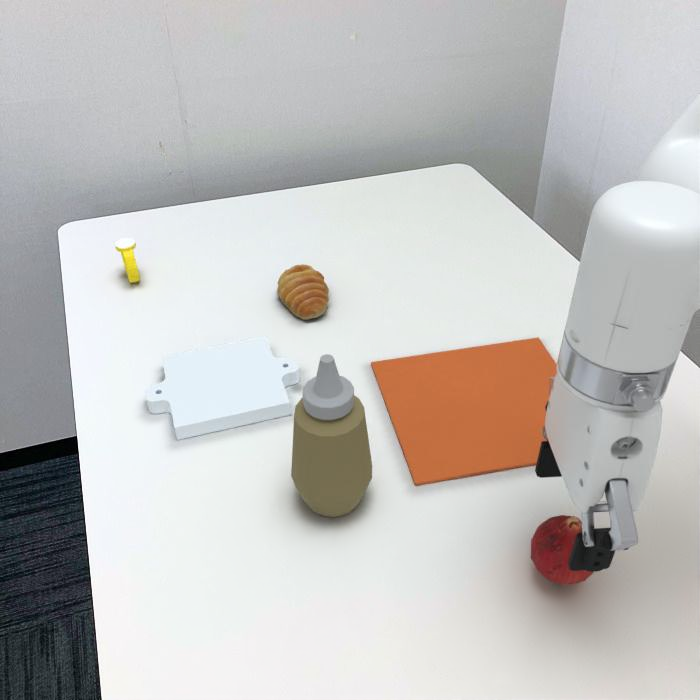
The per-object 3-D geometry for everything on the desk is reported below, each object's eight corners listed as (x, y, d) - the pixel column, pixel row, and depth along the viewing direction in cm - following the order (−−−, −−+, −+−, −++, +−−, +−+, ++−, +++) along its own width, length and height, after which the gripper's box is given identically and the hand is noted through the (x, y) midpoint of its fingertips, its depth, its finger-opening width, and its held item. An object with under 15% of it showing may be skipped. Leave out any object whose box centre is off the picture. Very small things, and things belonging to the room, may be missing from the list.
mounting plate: (286, 343, 95) (285, 332, 93) (312, 409, 85) (311, 397, 84) (143, 372, 91) (140, 360, 89) (154, 445, 81) (150, 432, 80)
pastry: (339, 317, 99) (338, 293, 96) (290, 327, 97) (288, 304, 95) (319, 280, 106) (318, 258, 103) (274, 290, 104) (271, 267, 102)
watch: (120, 269, 109) (111, 234, 105) (139, 265, 110) (130, 230, 106) (127, 290, 105) (118, 254, 101) (146, 286, 106) (138, 250, 102)
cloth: (538, 339, 94) (538, 337, 94) (612, 451, 79) (613, 448, 79) (371, 364, 91) (370, 361, 91) (415, 485, 76) (415, 483, 76)
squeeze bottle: (283, 519, 73) (267, 381, 61) (306, 459, 79) (295, 325, 68) (362, 534, 71) (361, 395, 60) (380, 472, 77) (382, 336, 66)
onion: (543, 610, 65) (558, 554, 60) (514, 556, 69) (526, 500, 64) (602, 593, 66) (622, 538, 61) (570, 542, 70) (586, 486, 65)
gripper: (725, 446, 45) (652, 607, 55) (623, 289, 58) (580, 442, 69) (604, 452, 44) (554, 613, 55) (529, 292, 58) (501, 445, 69)
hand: (569, 517), depth 62 cm, fingers open, 9 cm apart
